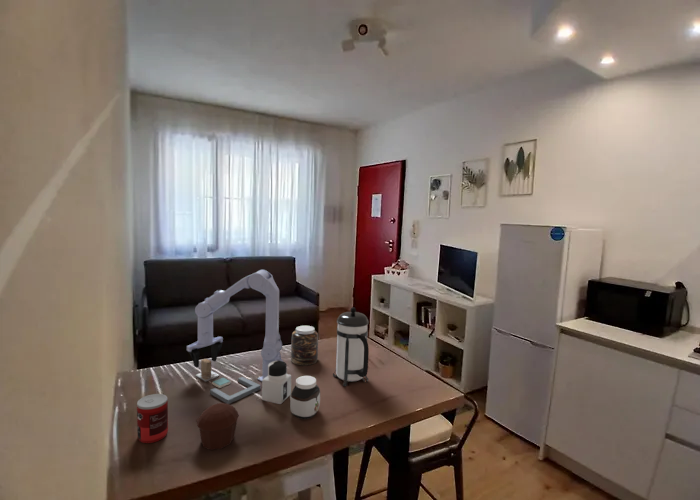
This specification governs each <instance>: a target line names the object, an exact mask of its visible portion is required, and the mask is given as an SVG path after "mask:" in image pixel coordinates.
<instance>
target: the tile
mask: <svg viewBox="0 0 700 500" xmlns="http://www.w3.org/2000/svg"><path fill="white" fill-rule="evenodd" d="M211 384H212V385H213V386H214V387H215V388H216V387H217V389H221V388H224V387H227V386H228V385H231V384H232V381H231V380H229V379H228V378H225V377H221V378H219V379H215V380H213V381H211Z"/></svg>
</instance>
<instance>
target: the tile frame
mask: <svg viewBox="0 0 700 500" xmlns="http://www.w3.org/2000/svg"><path fill="white" fill-rule="evenodd" d="M237 382H238V383H239V384H241V385H243V386H246V387H247V388H244V389H242V390H240V391H238V392H235V393H233V394H231V395H229V394H228V393H225V392H224V391H222V390H220V389H219V388H216V387H214V388H211V389H209V394H210V395H211V396H213V397H215V398H217V399H218V400H220V401H222V403H226V404H230V405H231V404H233V403H234V402H236V401H239V400H241V399H243V398H245V397H247V396H249V395H251V394H253V393H255V392H258V391H260V390H261V388H262V384H259V383H256V382H254V381H252V380H251V379H248V378H246V377H244V376H240V377H238V378H237Z"/></svg>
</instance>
